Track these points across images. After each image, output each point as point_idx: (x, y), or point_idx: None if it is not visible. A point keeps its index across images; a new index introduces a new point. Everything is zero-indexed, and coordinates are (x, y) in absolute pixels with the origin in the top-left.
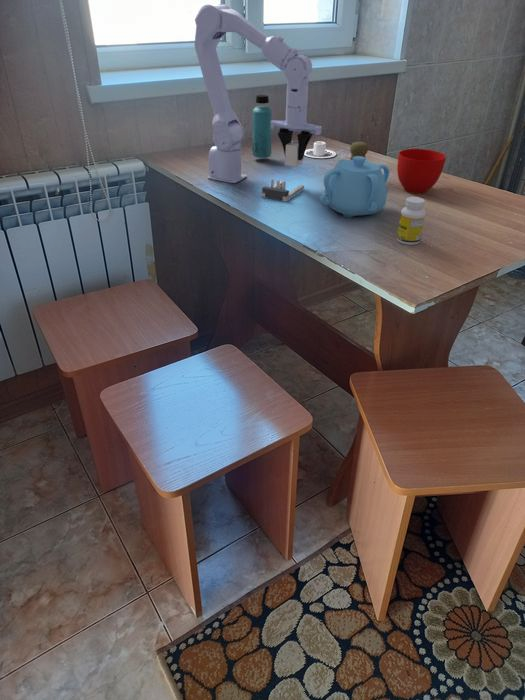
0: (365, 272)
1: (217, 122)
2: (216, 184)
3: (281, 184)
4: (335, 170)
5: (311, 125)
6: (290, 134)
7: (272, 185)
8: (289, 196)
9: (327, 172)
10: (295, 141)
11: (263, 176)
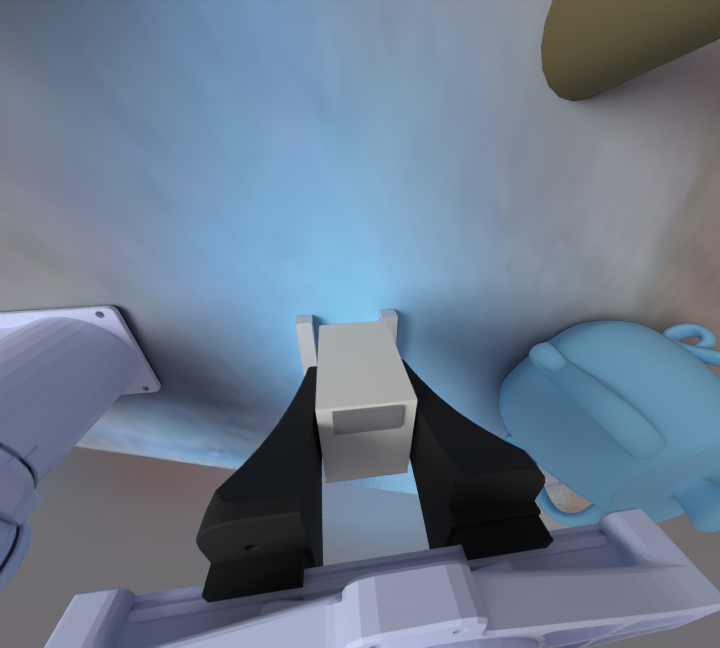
0: (561, 508)
1: None
2: (125, 414)
3: (314, 336)
4: None
5: (605, 634)
6: (311, 498)
7: None
8: None
9: (562, 523)
10: (349, 421)
11: (158, 255)
